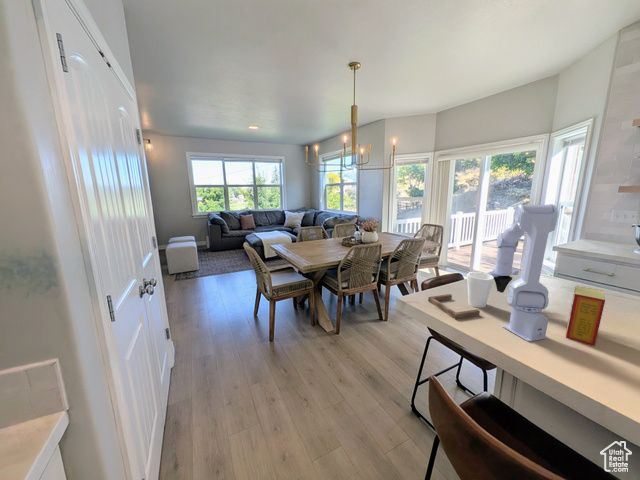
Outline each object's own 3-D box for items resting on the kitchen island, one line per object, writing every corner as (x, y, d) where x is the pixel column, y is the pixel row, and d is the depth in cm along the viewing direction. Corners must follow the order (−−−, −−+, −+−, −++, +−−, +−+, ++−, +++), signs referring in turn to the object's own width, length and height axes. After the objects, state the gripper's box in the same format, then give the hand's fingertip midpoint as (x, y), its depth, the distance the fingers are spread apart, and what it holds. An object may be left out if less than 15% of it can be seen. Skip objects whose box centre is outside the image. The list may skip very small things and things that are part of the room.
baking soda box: (567, 326, 90) (575, 284, 87) (593, 333, 86) (603, 289, 82) (565, 337, 84) (575, 293, 80) (594, 346, 79) (605, 299, 76)
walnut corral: (479, 315, 99) (479, 310, 99) (455, 319, 97) (455, 314, 96) (449, 298, 114) (450, 294, 114) (428, 301, 112) (428, 296, 112)
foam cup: (482, 299, 112) (486, 272, 110) (494, 309, 103) (498, 279, 101) (460, 299, 113) (463, 271, 111) (470, 308, 104) (473, 279, 102)
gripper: (509, 257, 112) (505, 286, 115) (482, 260, 109) (478, 289, 112) (525, 262, 106) (520, 292, 109) (496, 265, 103) (492, 296, 105)
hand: (500, 291), depth 110 cm, fingers closed
